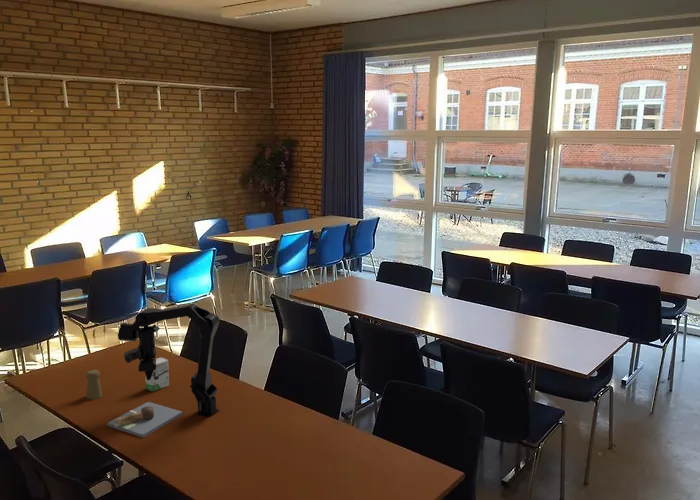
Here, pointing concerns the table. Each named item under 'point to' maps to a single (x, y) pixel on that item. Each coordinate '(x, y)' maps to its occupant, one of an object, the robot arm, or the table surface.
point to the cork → (93, 385)
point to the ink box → (159, 376)
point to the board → (148, 420)
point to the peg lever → (136, 416)
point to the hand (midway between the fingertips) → (148, 379)
